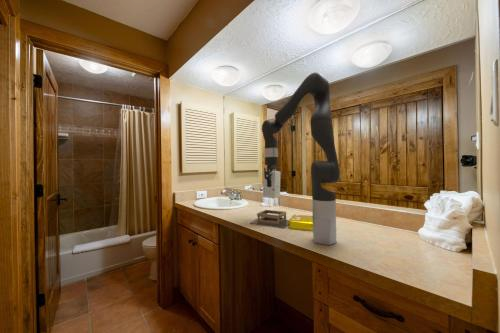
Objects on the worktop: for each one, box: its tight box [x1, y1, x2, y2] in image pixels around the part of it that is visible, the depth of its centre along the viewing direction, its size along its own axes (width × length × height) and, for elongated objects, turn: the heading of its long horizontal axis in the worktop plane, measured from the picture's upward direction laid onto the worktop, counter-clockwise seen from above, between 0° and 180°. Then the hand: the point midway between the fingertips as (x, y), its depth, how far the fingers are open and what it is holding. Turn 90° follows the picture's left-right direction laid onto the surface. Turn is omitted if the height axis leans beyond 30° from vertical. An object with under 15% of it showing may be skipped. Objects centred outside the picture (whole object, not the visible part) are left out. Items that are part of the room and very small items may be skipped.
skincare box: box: [262, 170, 281, 199], centre depth 116 cm, size 8×6×15 cm
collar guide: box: [249, 209, 290, 229], centre depth 116 cm, size 15×20×6 cm
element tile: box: [288, 214, 313, 232], centre depth 108 cm, size 15×15×5 cm
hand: (271, 186), depth 116 cm, fingers closed on skincare box, 6 cm apart
